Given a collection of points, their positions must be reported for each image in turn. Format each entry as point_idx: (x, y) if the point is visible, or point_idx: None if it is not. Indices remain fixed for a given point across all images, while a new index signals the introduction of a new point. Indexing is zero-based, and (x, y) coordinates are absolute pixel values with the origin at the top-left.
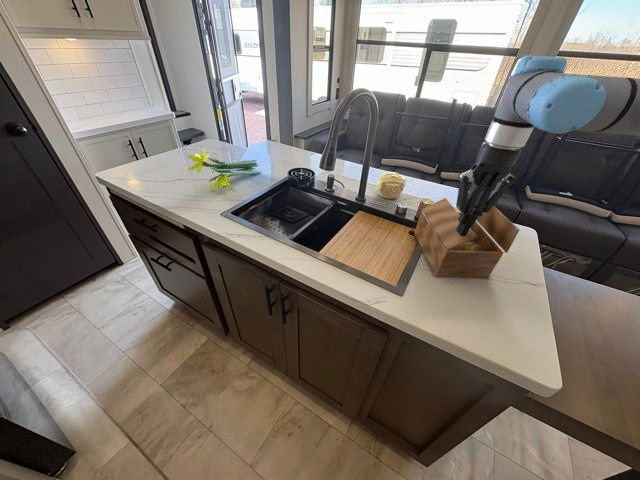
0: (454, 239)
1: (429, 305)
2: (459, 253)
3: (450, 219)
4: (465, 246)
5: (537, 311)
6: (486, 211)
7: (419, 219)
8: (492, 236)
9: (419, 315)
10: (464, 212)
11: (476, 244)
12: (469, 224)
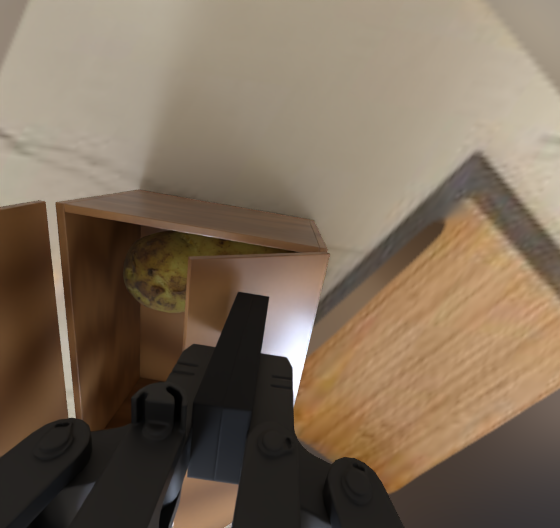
0: (281, 296)
1: (411, 99)
2: (265, 235)
3: None
4: None
5: (52, 11)
6: (66, 435)
7: None
8: (52, 310)
9: (471, 62)
10: (301, 453)
11: (146, 284)
12: (235, 340)
